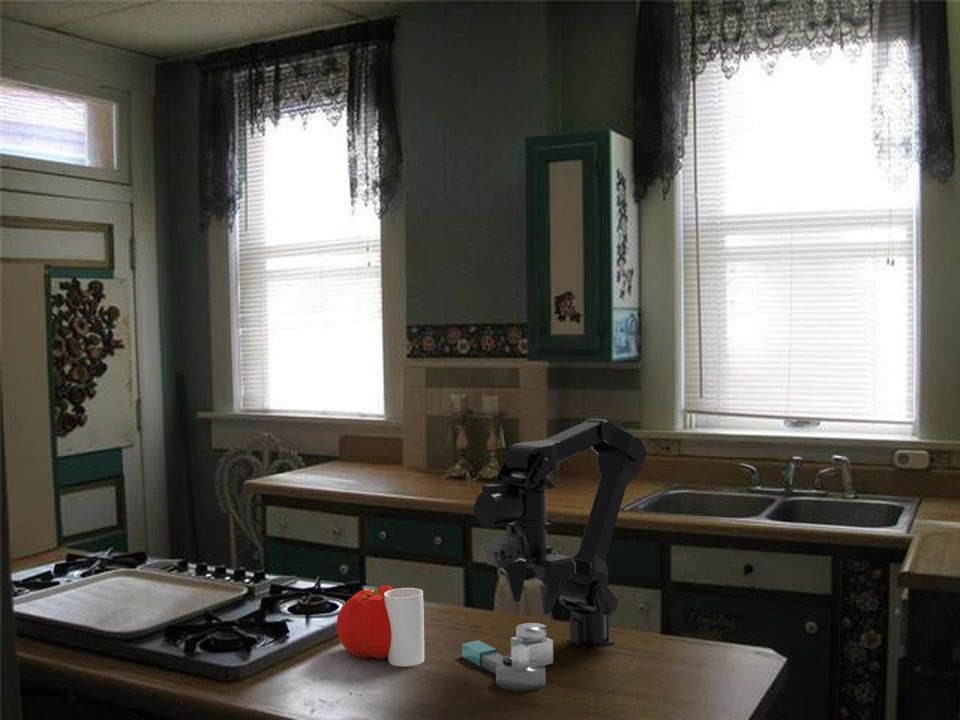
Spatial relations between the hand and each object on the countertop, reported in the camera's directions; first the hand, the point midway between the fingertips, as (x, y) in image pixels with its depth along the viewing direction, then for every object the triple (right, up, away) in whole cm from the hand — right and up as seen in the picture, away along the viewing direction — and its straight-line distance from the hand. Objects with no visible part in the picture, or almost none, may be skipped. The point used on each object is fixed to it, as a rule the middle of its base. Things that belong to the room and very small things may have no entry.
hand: (531, 607), depth 173 cm
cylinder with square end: (0, -9, 0) cm, 9 cm away
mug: (-21, -10, +3) cm, 23 cm away
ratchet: (-5, -10, -4) cm, 12 cm away
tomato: (-27, -10, +6) cm, 29 cm away
